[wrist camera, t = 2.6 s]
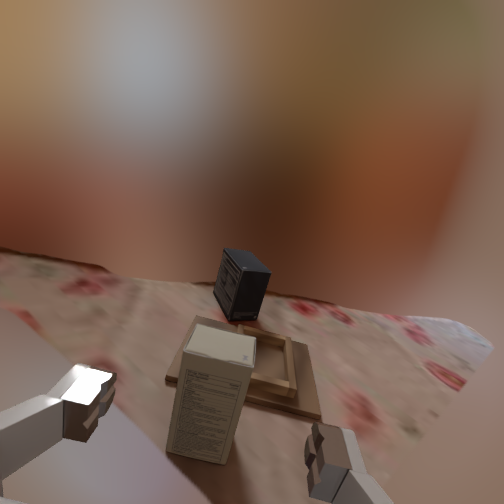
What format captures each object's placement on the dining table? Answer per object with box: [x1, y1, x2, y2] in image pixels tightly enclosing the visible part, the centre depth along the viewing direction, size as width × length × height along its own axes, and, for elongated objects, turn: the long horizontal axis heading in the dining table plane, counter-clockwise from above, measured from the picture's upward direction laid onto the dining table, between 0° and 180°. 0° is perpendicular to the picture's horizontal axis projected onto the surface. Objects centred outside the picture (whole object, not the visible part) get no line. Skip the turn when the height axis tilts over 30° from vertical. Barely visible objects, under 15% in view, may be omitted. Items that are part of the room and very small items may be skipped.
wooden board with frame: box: [165, 315, 321, 420], centre depth 40 cm, size 20×14×2 cm
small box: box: [213, 248, 271, 321], centre depth 53 cm, size 11×6×10 cm, turn 24°
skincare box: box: [166, 324, 256, 465], centre depth 26 cm, size 6×4×12 cm
